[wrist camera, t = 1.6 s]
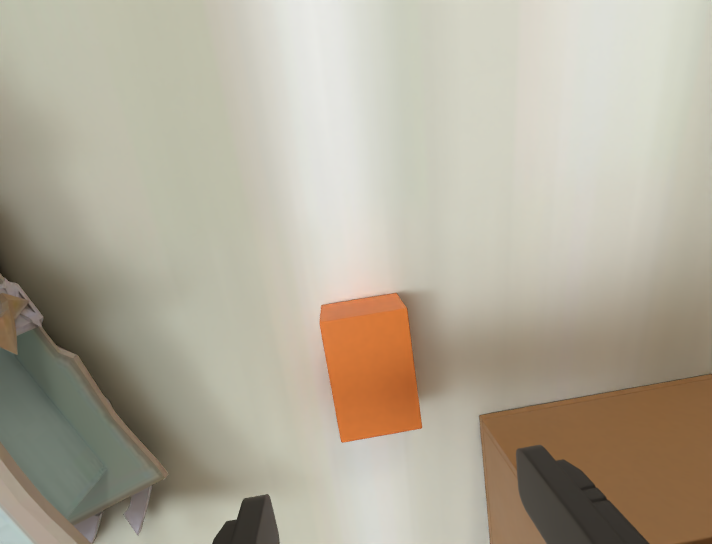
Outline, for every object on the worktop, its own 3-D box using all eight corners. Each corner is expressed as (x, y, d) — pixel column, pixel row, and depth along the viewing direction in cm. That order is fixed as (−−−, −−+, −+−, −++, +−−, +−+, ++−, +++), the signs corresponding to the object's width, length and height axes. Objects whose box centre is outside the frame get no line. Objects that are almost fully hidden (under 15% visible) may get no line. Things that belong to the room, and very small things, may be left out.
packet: (320, 305, 21) (319, 322, 18) (396, 292, 21) (407, 307, 18) (340, 411, 22) (341, 443, 19) (410, 398, 22) (422, 428, 19)
